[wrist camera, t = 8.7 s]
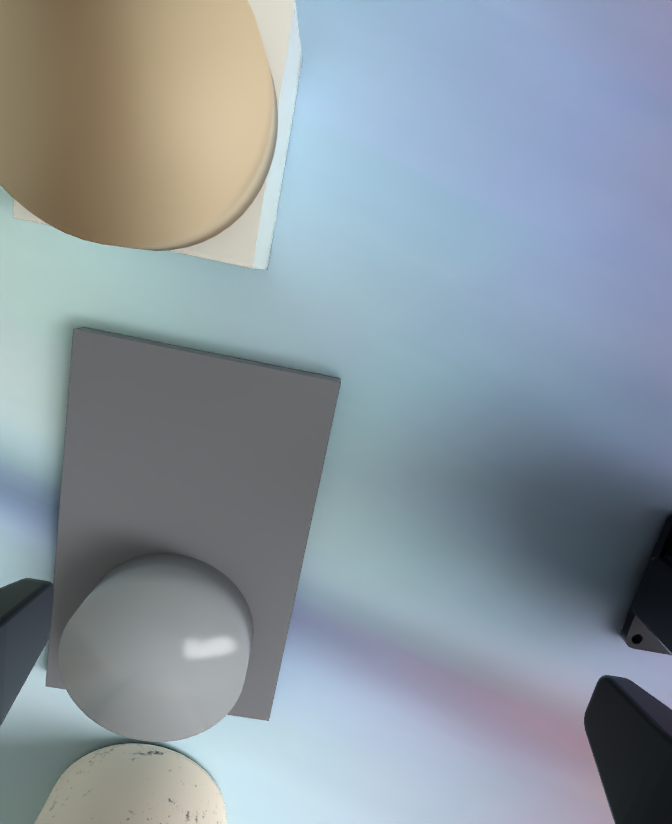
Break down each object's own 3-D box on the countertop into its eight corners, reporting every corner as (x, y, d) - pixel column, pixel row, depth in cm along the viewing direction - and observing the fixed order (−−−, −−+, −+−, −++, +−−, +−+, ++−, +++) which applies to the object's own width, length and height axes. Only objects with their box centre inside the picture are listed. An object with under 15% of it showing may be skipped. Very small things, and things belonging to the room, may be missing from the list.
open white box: (302, 60, 18) (295, -1, 14) (267, 269, 19) (252, 268, 16) (93, 10, 17) (25, -67, 13) (77, 229, 19) (13, 217, 15)
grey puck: (245, 548, 21) (236, 577, 19) (260, 695, 23) (253, 737, 21) (71, 557, 21) (42, 588, 19) (98, 704, 23) (75, 746, 21)
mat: (340, 378, 20) (340, 382, 20) (270, 706, 24) (268, 720, 24) (83, 327, 20) (73, 329, 19) (54, 672, 24) (45, 686, 23)
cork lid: (294, -11, 14) (287, -75, 11) (261, 269, 16) (248, 268, 13) (16, -65, 13) (-57, -144, 11) (15, 228, 15) (-48, 219, 13)
